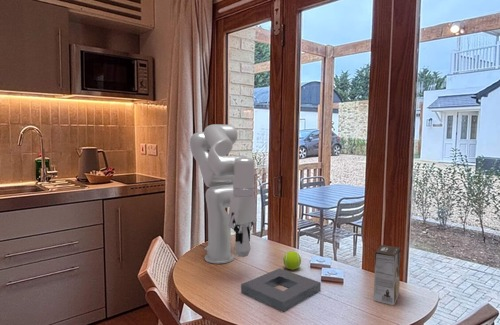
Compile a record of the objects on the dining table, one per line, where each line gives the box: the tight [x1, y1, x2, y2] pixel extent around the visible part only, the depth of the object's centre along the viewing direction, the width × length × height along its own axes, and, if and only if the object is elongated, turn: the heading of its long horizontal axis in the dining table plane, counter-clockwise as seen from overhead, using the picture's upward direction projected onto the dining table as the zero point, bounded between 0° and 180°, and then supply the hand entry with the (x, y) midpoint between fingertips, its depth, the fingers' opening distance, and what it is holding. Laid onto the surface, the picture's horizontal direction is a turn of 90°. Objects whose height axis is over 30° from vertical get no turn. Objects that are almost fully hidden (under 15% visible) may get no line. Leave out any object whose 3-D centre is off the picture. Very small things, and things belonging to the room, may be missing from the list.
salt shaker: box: [234, 223, 251, 258], centre depth 125 cm, size 6×6×13 cm
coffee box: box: [373, 244, 402, 306], centre depth 111 cm, size 9×6×16 cm
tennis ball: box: [282, 250, 302, 271], centre depth 136 cm, size 7×7×7 cm
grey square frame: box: [240, 268, 322, 313], centre depth 115 cm, size 18×20×3 cm
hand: (242, 241), depth 125 cm, fingers closed on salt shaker, 3 cm apart
